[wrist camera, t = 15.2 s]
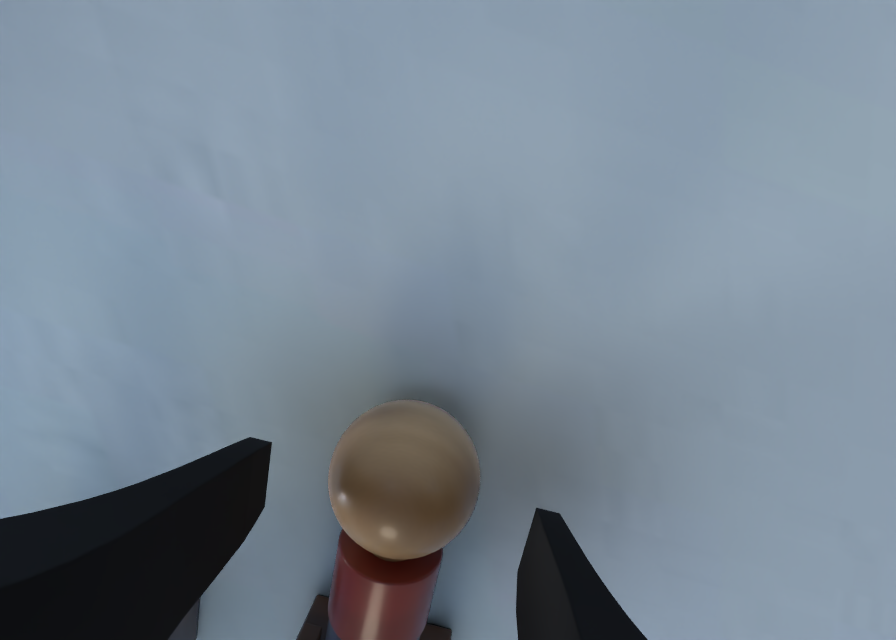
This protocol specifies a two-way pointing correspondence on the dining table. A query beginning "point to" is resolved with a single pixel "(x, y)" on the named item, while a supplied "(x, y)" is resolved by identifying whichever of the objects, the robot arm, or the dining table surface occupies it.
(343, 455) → the red doll
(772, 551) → the dining table surface
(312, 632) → the brown stand
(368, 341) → the dining table surface
